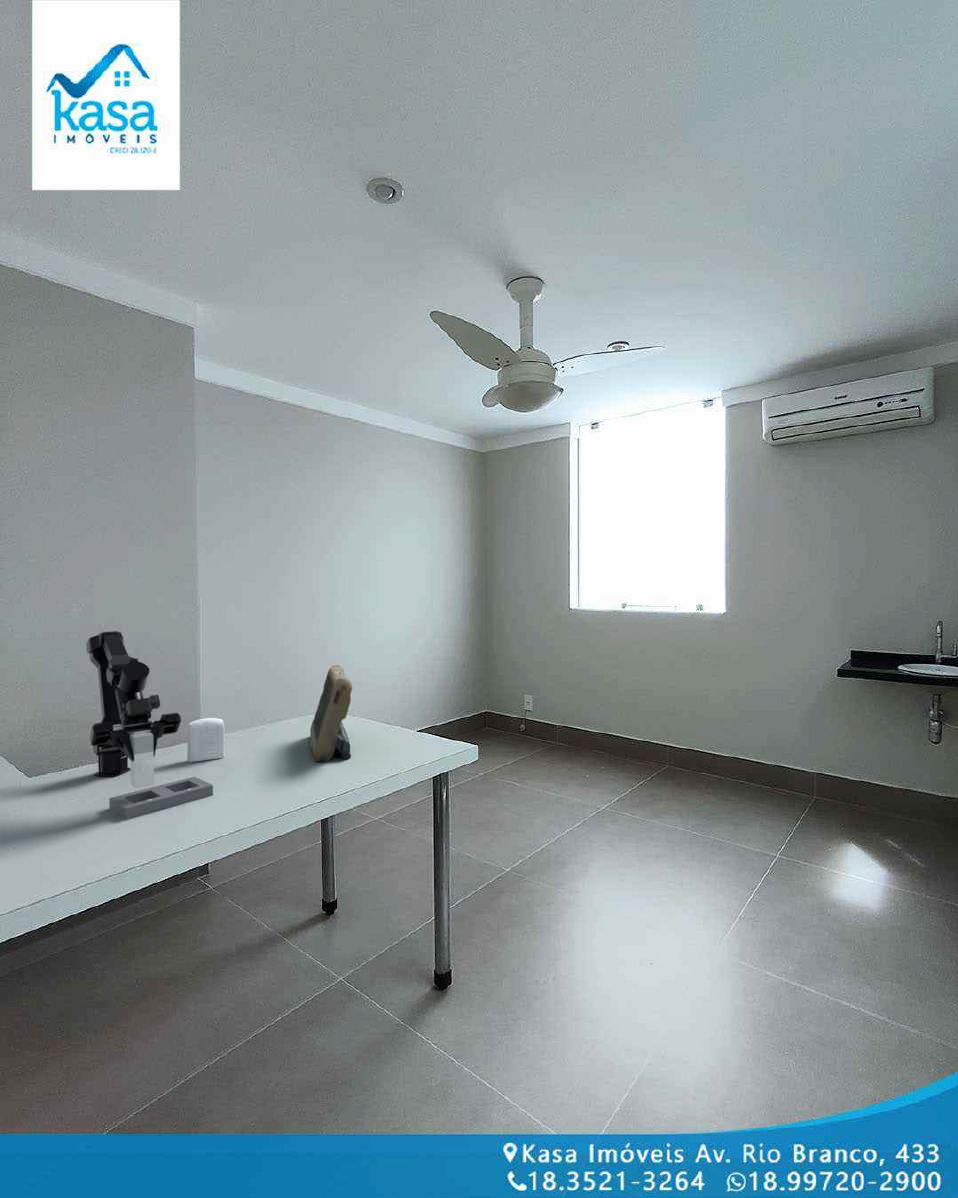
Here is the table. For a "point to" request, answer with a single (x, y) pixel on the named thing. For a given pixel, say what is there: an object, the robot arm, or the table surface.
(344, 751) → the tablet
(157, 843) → the table surface
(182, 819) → the table surface
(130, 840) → the table surface
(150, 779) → the plug
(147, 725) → the robot arm
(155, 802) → the socket plate
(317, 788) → the table surface
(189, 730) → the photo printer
